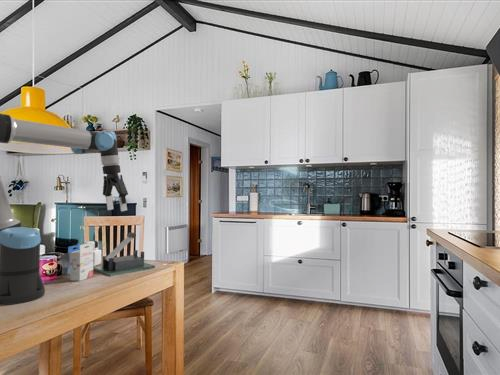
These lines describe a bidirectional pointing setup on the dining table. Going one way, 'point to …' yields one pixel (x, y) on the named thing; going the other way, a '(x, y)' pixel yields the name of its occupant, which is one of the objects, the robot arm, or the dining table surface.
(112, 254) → the steel strap
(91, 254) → the ink cartridge box
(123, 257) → the green fixture base plate
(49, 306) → the dining table surface
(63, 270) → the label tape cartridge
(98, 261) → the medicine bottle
